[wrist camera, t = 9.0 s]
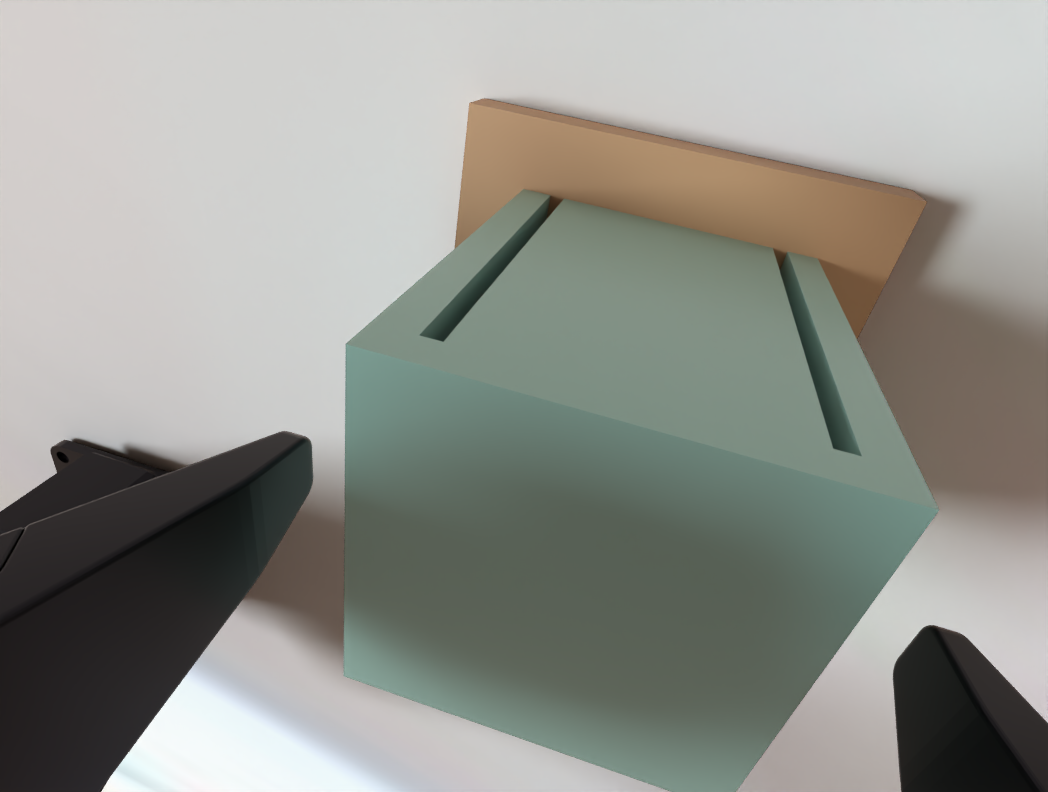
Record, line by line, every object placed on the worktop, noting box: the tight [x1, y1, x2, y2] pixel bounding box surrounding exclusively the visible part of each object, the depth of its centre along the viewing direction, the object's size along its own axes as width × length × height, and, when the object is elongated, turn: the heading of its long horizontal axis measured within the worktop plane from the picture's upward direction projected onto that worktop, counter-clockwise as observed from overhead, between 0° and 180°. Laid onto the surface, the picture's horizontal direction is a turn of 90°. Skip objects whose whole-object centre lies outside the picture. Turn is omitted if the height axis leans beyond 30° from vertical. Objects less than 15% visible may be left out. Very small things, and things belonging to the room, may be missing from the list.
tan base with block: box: [455, 98, 927, 339], centre depth 12 cm, size 9×9×8 cm
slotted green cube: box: [344, 189, 939, 792], centre depth 11 cm, size 6×6×8 cm
